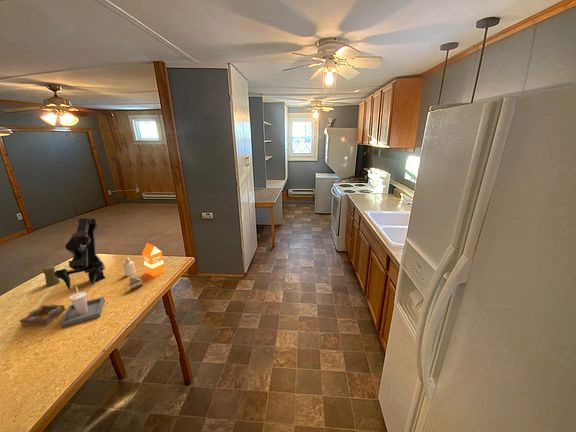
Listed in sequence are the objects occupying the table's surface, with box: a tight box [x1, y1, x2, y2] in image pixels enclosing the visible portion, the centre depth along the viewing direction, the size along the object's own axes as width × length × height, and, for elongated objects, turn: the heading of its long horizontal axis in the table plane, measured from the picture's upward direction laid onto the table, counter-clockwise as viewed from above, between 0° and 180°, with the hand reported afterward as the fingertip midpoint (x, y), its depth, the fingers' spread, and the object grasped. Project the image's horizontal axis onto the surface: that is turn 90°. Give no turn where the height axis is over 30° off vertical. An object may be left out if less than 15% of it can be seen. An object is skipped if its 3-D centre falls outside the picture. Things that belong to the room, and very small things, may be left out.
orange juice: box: [142, 242, 166, 278], centre depth 150 cm, size 8×9×20 cm
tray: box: [60, 296, 105, 328], centre depth 116 cm, size 14×14×2 cm
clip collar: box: [19, 303, 66, 327], centre depth 113 cm, size 11×11×4 cm
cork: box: [42, 265, 61, 287], centre depth 138 cm, size 6×6×11 cm
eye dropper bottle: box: [123, 256, 137, 277], centre depth 148 cm, size 4×6×12 cm
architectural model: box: [127, 274, 143, 289], centre depth 135 cm, size 3×7×7 cm, turn 135°
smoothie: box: [69, 286, 88, 314], centre depth 114 cm, size 6×6×14 cm
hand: (81, 286), depth 117 cm, fingers open, 9 cm apart
